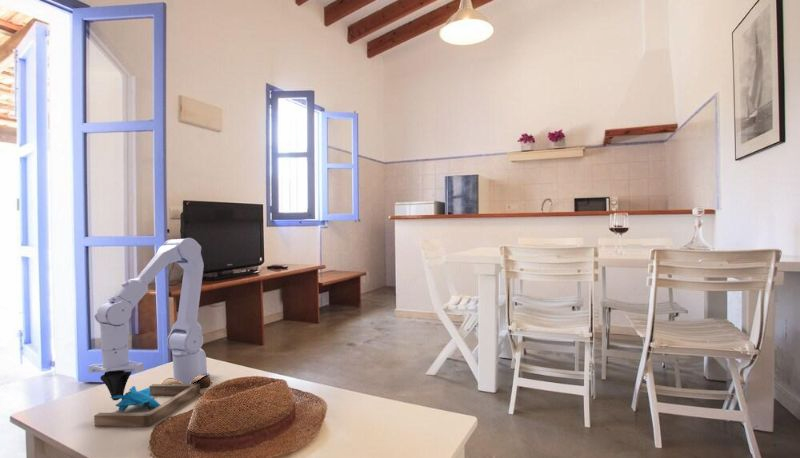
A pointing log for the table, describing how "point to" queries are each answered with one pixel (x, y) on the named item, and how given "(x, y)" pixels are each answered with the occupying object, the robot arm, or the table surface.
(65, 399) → the table surface
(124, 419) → the brown wooden u shape
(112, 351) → the robot arm
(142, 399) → the toy airplane
